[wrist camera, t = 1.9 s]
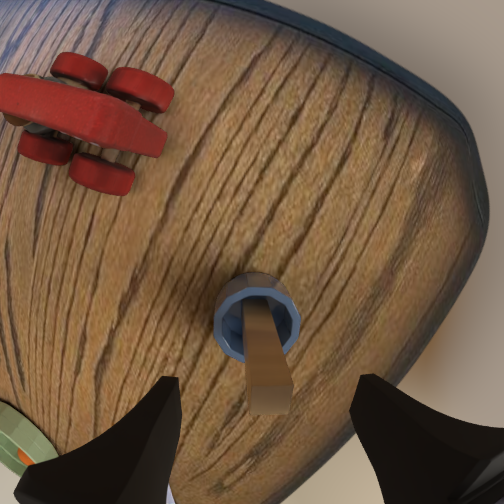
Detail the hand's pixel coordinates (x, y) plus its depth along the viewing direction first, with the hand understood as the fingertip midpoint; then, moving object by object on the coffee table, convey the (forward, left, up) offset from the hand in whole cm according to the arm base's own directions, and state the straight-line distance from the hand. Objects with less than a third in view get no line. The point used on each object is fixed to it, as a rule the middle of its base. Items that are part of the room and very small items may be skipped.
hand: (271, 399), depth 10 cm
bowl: (-21, +28, -9) cm, 36 cm away
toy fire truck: (+12, +11, -10) cm, 19 cm away
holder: (0, 0, -9) cm, 9 cm away
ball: (-23, +27, -7) cm, 36 cm away
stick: (0, 0, -9) cm, 9 cm away
